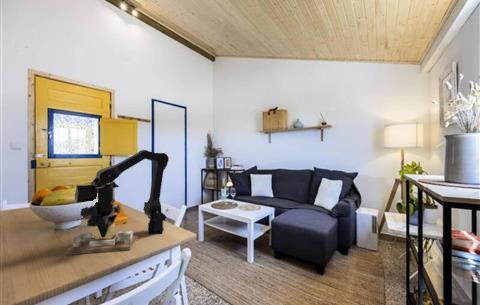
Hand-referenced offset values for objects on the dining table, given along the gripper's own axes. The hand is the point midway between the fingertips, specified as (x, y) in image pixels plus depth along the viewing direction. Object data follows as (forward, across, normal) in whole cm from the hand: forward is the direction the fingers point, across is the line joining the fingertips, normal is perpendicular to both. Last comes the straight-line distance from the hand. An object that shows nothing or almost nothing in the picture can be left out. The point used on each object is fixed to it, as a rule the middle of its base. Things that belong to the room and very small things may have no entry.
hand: (105, 235), depth 93 cm
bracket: (+5, -29, -6) cm, 30 cm away
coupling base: (+4, 0, 0) cm, 4 cm away
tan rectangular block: (+1, 0, 0) cm, 1 cm away
